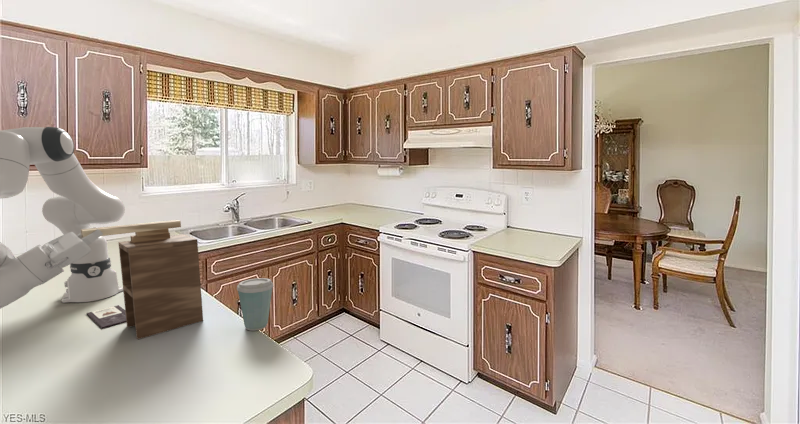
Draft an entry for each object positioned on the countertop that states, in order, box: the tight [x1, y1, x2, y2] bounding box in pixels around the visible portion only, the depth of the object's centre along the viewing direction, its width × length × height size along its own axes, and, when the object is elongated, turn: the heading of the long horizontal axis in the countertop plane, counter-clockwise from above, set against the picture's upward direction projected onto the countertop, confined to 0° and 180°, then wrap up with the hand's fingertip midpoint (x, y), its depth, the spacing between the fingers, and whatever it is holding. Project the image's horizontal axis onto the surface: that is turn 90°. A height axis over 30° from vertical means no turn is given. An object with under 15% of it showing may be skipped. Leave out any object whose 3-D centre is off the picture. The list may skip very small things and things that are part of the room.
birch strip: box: [81, 219, 182, 237], centre depth 113 cm, size 4×24×2 cm, turn 137°
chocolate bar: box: [86, 305, 127, 330], centre depth 126 cm, size 9×1×18 cm
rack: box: [117, 228, 204, 340], centre depth 119 cm, size 13×18×32 cm
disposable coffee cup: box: [236, 277, 275, 331], centre depth 118 cm, size 11×11×15 cm
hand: (99, 230), depth 107 cm, fingers closed on birch strip, 3 cm apart
